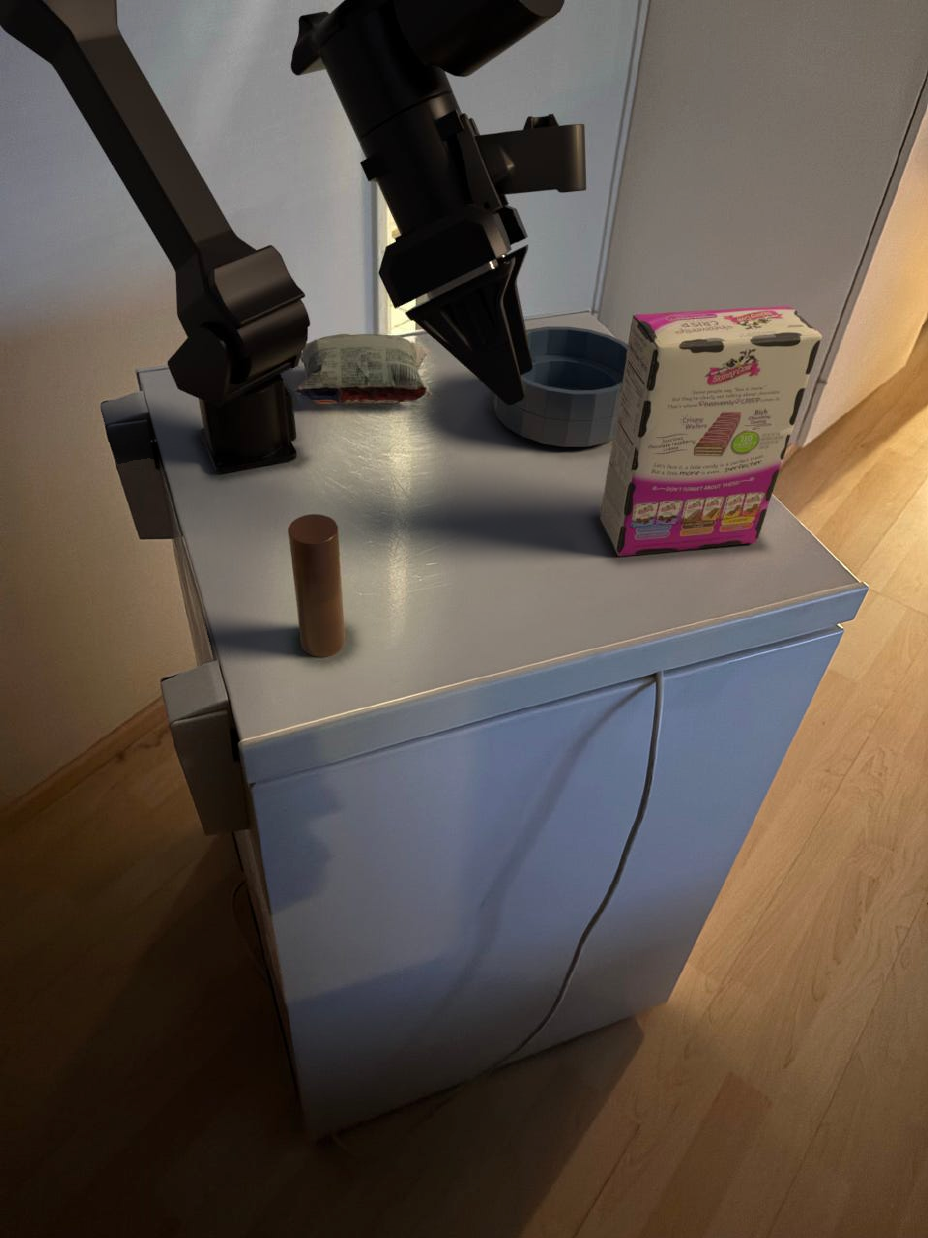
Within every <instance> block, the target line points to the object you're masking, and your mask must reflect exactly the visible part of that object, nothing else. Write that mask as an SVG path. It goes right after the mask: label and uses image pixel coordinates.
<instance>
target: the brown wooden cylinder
mask: <svg viewBox="0 0 928 1238" xmlns="http://www.w3.org/2000/svg"><path fill="white" fill-rule="evenodd" d="M287 533H288V541H289V550H290V559H291V560H290V561H291V568H292V578H293V585H294V595H295V605H296V613H297V622H298V630H299V639H300V640H299V641H300V646H301V649H302V650H303V651H304V652H306V654H308V655H310V656H313V657H318V658H319V657H320V658H324V657H330V656H333V655H335V654H337V653H338V652H340V651H341V650H342V649H343V648H344V646H345V643H346V630H345V615H344V614H345V613H344V599H343V586H342V585H343V583H342V571H341V570H342V569H341V568H342V567H341V554H340V539H339V536H340V535H339V525H338V524H337V522H336V521H335V520H334V519H333V518H331V517H330V516H328V515H324V514H319V513H318V514H317V513H311V514H305V515H301V516H299V517H297V518H295V519H294V520H293V521H291V523H290V524H289V526H288V529H287Z"/></svg>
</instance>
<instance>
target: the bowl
mask: <svg viewBox="0 0 928 1238" xmlns="http://www.w3.org/2000/svg"><path fill="white" fill-rule="evenodd" d="M526 333H527V338H528V343H529V348H530V353H531V358H532V363H533V368H532V370H531V371H530V372H527V373H525V374H523V375H520V376H521V380H522V384H523V389H524V393H525V397H524V399H523V400H522V401H520V402H518V403H516V404H513V405H511V406H508V405H506V404H505V403H504V402H503V401H501V400H500V399H499V398H498V397H497V396H496V395H495V394H494V393H493V405H492V406H493V408H494V413H495V416H496V417H497V419H498V420H499V422H501V423H502V424H503V425H504V427H506V428H507V429H509V430H510V431H511V432H514V433H515V434H516V435H518V436H520V437H522V438H525V439H528V440H531V441H534V442H536V443H540V444H544V445H550V446H555V447H557V446H558V447H563V448H565V447H566V448H569V447H570V448H571V447H593V446H596V445H601V444H606V443H609V442H612V440H613V434H614V429H615V423H616V418H617V413H618V404H619V398H620V392H621V387H622V380H623V374H624V368H625V362H626V355H627V349H628V343H626V342H625V341H623V340H621V339H618V338H617V337H614V336H612V335H610V334H607V333H603V332H600V331H596V330H593V329H589V328H583V327H575V326H541V327H534V328H528V329H526Z"/></svg>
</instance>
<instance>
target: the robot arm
mask: <svg viewBox="0 0 928 1238" xmlns="http://www.w3.org/2000/svg"><path fill="white" fill-rule="evenodd" d="M565 1H566V0H343V1H342V2H341V3H340V4H338V5H337V6H336V8H334V9H333V10H332V11H330V13H329V12H328V11H326V10H325V11H319V12H314V13H308V14H302V15H300V16H299V17H298V32H297V33H298V34H297V38H296V42H295V44H294V46H293V49H292V53H291V59H290V70H291V72H292V74H293V75H295V76H297V77H298V76H299V77H300V76H303V75H307V74H311V73H316V72H321V71H324V70H325V71H326V73H327V75H328V78H329V80H330V82H331V84H332V86H333V88H334V91H335V93H336V96H337V97H338V100H339V101H340V104H341V106H342V108H343V111H344V113H345V115H346V117H347V120H348V121H349V124H350V127H351V128H352V130H353V132H354V135H355V137H356V139H357V142H358V143H359V146H360V148H361V150H362V152H363V155H364V157H365V159H364V160H362V161H360V162H359V163H360V164H359V165H360V166H361V168H362V170H363V173H364V174H365V177H366V179H367V182H370V183H371V182H372V183H377V185H378V188H379V190H380V192H381V195H382V197H383V199H384V201H385V203H386V206H387V208H388V210H389V212H390V214H391V217H392V218H393V219H392V220H393V221H394V223H395V225H396V228H397V229H398V232H399V234H400V235H398V236H397V237H394V242H392V243H390V244H388V245H386V246H385V248H384V252H383V255H382V259H381V262H380V266H379V269H378V277H379V278H380V280H381V282H382V284H383V286H384V288H385V291H386V293H387V295H388V297H389V300H390V301H391V304H392V305H393V308H394V309H395V310H396V309H399V308H400V307H402V306H404V305H406V304H408V303H410V302H413V301H414V300H416V299H418V298H420V297H423V296H424V295H427V297H428V299H426V300H425V301H423V302H420V303H418V304H417V305H414V306H413V307H411V308H409V309H408V310H406V311H405V312H404V314H405V316H406V318H407V319H409V321H411V322H412V321H413V322H414V323H415V324H417V326H419V327H420V328H421V329H422V330H424V331H425V332H426V333H427V334H428V335H429V336H430V337H432V339H434V340H435V341H436V342H437V343H438V344H440V346H441V347H443V348H444V349H445V350H446V351H447V352H448V353H449V354H450V355H452V356H453V358H454V359H456V360H457V361H458V362H459V363H460V364H461V365H463V366H464V367H465V368H466V369H467V370H468V371H469V372H470V373H471V374H472V375H473V376H475V377H476V378H477V379H478V380H479V381H480V382H481V383H482V384H483V385H484V386H485V387H486V388H487V389H489V390H490V392H491V393H493V395H494V394H495V395H496V396H497V397H498V398H499V399H500V400H501V401H503V402H504V403H505V404H506V405H508V406H511V405H513V404H516V403H518V402H520V401H522V400H523V399H524V397H525V393H524V389H523V384H522V380H521V376H520V375H523V374H525V373H527V372H530V371H531V370H532V368H533V363H532V358H531V353H530V348H529V343H528V338H527V333H526V330H527V328H526V324H525V319H524V313H523V308H522V305H521V304H522V303H521V298H520V292H519V287H518V278H519V275H520V272H521V270H522V267H523V264H524V261H525V259H526V256H527V254H528V251H529V244H525V245H523V246H521V247H519V248H516V249H515V250H513V248H512V245H514V244H517V243H520V242H522V241H524V240H525V239H527V238H528V237H529V236H528V233H527V231H526V228H525V226H524V223H523V221H522V218H521V215H520V213H519V211H518V209H517V208H516V207H514V206H511V205H510V203H509V200H508V198H507V196H506V195H517V194H526V193H535V192H545V191H554V190H556V191H557V192H558V193H561V194H564V193H574V192H584V191H586V190H587V167H586V165H587V164H586V163H587V162H586V161H587V160H586V131H585V124H584V123H572V124H561V125H560V124H559V122H558V120H557V119H556V117H555V115H554V113H549V114H548V115H545V116H532V115H529V116H527V117H526V119H525V122H524V125H523V127H522V129H516V130H509V131H501V132H494V133H486V134H480V131H479V128H478V126H477V123H476V122H475V121H476V120H474V118H472V117H469V116H468V114H467V113H465V112H462V110H461V108H460V105H459V102H458V101H457V98H456V95H455V93H454V91H453V88H452V86H451V83H450V81H449V78H448V76H447V74H449V75H451V76H453V77H458V78H459V77H460V78H467V77H469V76H471V75H473V74H474V73H476V72H477V71H478V70H480V69H481V68H483V67H485V65H487V64H488V63H490V62H492V61H493V60H495V59H496V58H497V57H498V56H500V55H501V54H503V53H504V52H506V51H507V50H508V49H510V48H511V47H513V46H514V45H516V44H517V43H519V42H520V41H521V40H523V39H524V38H526V37H527V36H529V35H530V34H532V33H533V32H534V31H536V30H537V29H539V28H540V27H541V26H543V25H544V24H546V23H547V22H548V21H550V20H551V19H553V18H554V17H556V16H557V15H558V14H559V13H560V12H561V11H562V8H563V6H564V4H565ZM118 23H119V22H118V1H117V0H0V27H1V29H2V30H3V31H4V32H5V33H6V34H8V35H9V36H11V37H12V38H13V39H15V40H16V41H18V42H19V43H21V44H22V45H23V46H24V47H26V48H28V49H29V50H30V51H32V52H33V53H35V54H36V55H37V56H39V57H40V58H41V59H42V60H44V61H45V62H47V63H49V64H50V65H51V66H52V68H53V69H54V70H55V72H56V74H57V75H58V77H59V79H60V81H61V82H62V83H63V85H64V87H65V89H66V90H67V92H68V94H69V96H70V97H71V98H72V100H73V102H74V104H75V106H76V107H77V108H78V110H79V112H80V114H81V115H82V118H83V119H84V121H85V122H86V124H87V125H88V127H89V129H90V130H91V132H92V134H93V135H94V137H95V139H96V140H97V142H98V143H99V146H100V147H101V149H102V150H103V152H104V154H105V155H106V157H107V159H108V161H109V162H110V164H111V166H112V167H113V169H114V170H115V172H116V174H117V176H118V177H119V179H120V181H121V182H122V184H123V186H124V188H125V189H126V192H128V195H130V197H131V200H132V201H133V202H134V204H135V205H136V207H137V210H139V212H140V214H141V217H142V218H143V219H144V221H145V222H146V224H147V226H148V227H149V229H150V231H151V232H152V234H153V236H154V237H155V239H156V241H157V243H158V244H159V246H160V247H161V249H162V250H163V252H164V254H165V256H166V257H167V260H168V261H169V263H170V264H171V266H172V268H173V270H174V273H175V275H174V276H175V298H176V299H175V301H176V316H177V319H178V321H179V324H180V325H181V327H182V329H183V331H184V333H185V335H186V337H187V338H186V339H185V340H184V341H183V343H181V345H180V346H179V347H178V348H177V349H176V351H175V352H174V353H173V354H172V355H171V357H170V358H169V359H168V360H167V367H168V369H169V372H170V374H171V377H172V379H173V381H174V383H175V386H176V388H177V389H178V390H179V391H180V392H183V393H186V394H188V395H190V396H192V397H194V398H197V399H198V403H199V408H200V415H201V421H202V426H203V428H201V429H200V434H201V437H202V440H203V442H204V446H205V447H206V450H207V452H208V455H209V457H210V460H211V462H212V464H213V467H214V469H215V471H216V473H219V474H224V473H231V472H235V471H239V470H246V469H251V468H256V467H261V466H266V465H271V464H272V465H273V464H277V463H278V464H279V463H282V462H283V463H284V462H287V461H288V462H289V461H293V460H295V459H297V457H298V454H297V450H296V448H295V446H294V444H293V442H295V441H296V439H297V428H296V419H295V407H294V399H293V395H292V393H291V391H290V390H289V388H288V386H287V384H286V382H285V379H284V378H283V376H282V374H283V373H285V372H287V371H289V370H293V369H295V368H297V367H299V364H300V361H301V359H300V356H301V352H303V349H304V348H305V346H306V343H308V339H309V327H310V326H311V319H310V316H309V312H308V310H307V308H306V306H305V303H304V302H303V300H302V299H304V298H305V297H306V293H305V292H304V291H303V290H302V289H301V288H300V287H299V285H297V283H296V282H295V280H294V279H293V277H292V276H291V274H290V271H289V270H288V267H287V264H286V262H285V260H284V257H283V256H282V254H281V253H280V251H279V250H277V248H276V246H273V244H272V245H271V244H269V245H266V246H264V247H261V248H258V249H256V248H255V247H254V246H252V245H250V244H249V243H247V242H246V241H244V240H243V239H242V238H240V237H239V236H237V234H236V232H235V231H234V230H233V228H232V226H231V225H230V223H229V221H228V219H227V218H226V216H225V214H224V212H223V211H222V208H221V207H220V205H219V203H218V202H217V200H216V198H215V196H214V195H213V193H212V191H211V189H210V188H209V186H208V184H207V182H206V181H205V179H204V177H203V175H202V174H201V172H200V170H199V168H198V167H197V164H196V163H195V161H194V160H193V157H192V156H191V154H190V152H189V151H188V149H187V147H186V145H185V144H184V142H183V140H182V139H181V137H180V135H179V133H178V132H177V130H176V127H175V126H174V124H173V123H172V121H171V119H170V118H169V116H168V114H167V112H166V110H165V108H164V107H163V105H162V103H161V102H160V100H159V98H158V96H157V95H156V93H155V91H154V89H153V87H152V86H151V84H150V82H149V81H148V79H147V77H146V75H145V74H144V72H143V70H142V68H141V66H140V65H139V63H138V61H137V59H136V57H135V56H134V54H133V52H132V51H131V49H130V47H129V45H128V44H127V42H126V41H125V39H124V37H123V34H122V33H121V30H120V28H119V25H118ZM446 73H447V74H446ZM512 250H513V251H512Z"/></svg>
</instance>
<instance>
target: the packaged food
mask: <svg viewBox="0 0 928 1238" xmlns="http://www.w3.org/2000/svg"><path fill="white" fill-rule="evenodd" d="M429 354H430V349H429V348H427V347H424V346H420V344H418V343H416V342H414V341H411V342H410V341H409V340H408V339H406V338H405V337H403V336H400V335H395V334H381V333H380V334H378V333H358V334H349V333H340V334H333V335H326V336H322V337H320V338H319V337H318V338H317V339H314V340H312V341H310V342H307V343H306V346H305V348H304V349H303V350H302V352H301V356H300V362H301V363H302V364H303V366H304V371H305V375H306V378H305V379H304V380H303V381H302V382H301V383H300V384H299V385H298V386H297V387H296V388H295V389H294V392H297V393H298V394H299V395H301V396H302V397H306V398H308V399H309V400H310V401H313V402H315V403H317V404H319V405H323V404H324V405H325V404H326V405H329V404H330V405H332V404H333V405H335V404H354V403H355V404H356V403H358V404H359V403H360V404H397V403H401V402H402V403H404V402H405V403H406V402H414V401H417V400H420V399H421V398H423V397H424V396H427V397H432V398H433V396H434V394H433V392H432V391H431V390H430V388H429V386H428V384H427V383H425V381H423V380H422V378H421V375H420V373H419V370H420V369H421V366H422V364H423V362H424V361H425V357H428V355H429Z"/></svg>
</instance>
